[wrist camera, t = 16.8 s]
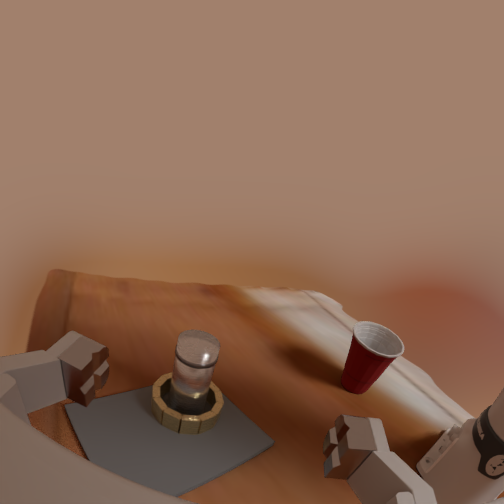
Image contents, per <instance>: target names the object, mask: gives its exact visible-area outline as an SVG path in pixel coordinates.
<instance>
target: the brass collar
mask: <svg viewBox="0 0 504 504" xmlns="http://www.w3.org/2000/svg"><path fill="white" fill-rule="evenodd" d="M172 373H173V372H171V373H168V374H164V375H163V376H161V377H160V378H159V379H158V380H157V381H156V382H155V383H154V384H153V389H152V399H151V411H152V413H153V415H154V416H155V418H156V419H157V420H158V422H159V423H160V424H162V426H164V427H166V428H168V429H170V430H172V431H174V432H176V433H178V432H179V434H190V435H197V433H198V434H201V433H204V432H206V431H208V430H211V429H212V428H214V426H215V424H216V422H217V421H218V419H219V417H220V414H221V411H222V408H223V405H224V401H223V397H222V393H221V391H220V389H219V388H218V387H217V386H216V385H215V384H214V383H213V382H212V381H211V383H210V387H209V391H208V395H207V398H206V401H207V402H208V403H209V404H210V406H211V411H209V412H206V413H204V414H201V415H199V416H197V415H182V414H180V413H178V412H176V411H174V410H172V409H170V408H168V406H167V405H166V404H165V403H164V401H163V400H162V399H161V398H162V396H163V395H164V394H165V393H168V392H170V385H171V379H172Z"/></svg>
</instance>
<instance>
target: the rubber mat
mask: <svg viewBox="0 0 504 504" xmlns="http://www.w3.org/2000/svg"><path fill="white" fill-rule="evenodd" d="M152 389H153V385H152V386H148V387H144V388H140V389H136V390H132V391H128V392H124V393H119V394H115V395H111V396H106V397H101V398H97V399H93V400H92V401H91V402H90V404H89V405H88V406H87V408H86V407H84V406H82V405H80V404H78V403H71V404H66V405H65V410H66V412H67V415H68V417H69V419H70V422H71V424H72V426H73V429H74V431H75V433H76V435H77V438H78V440H79V442H80V444H81V446H82V448H83V450H84V452H85V454H86V456H87V458H88V460H89V461H91V462H93V463H94V464H96V465H98V466H100V467H103V468H105V469H107V470H109V471H111V472H113V473H115V474H117V475H120V476H122V477H124V478H127V479H129V480H131V481H134V482H136V483H139V484H141V485H144V486H146V487H149V488H151V489H154V490H157V491H160V492H163V493H165V494H168V495H171V496H174V497H178V496H180V495H182V494H184V493H187V492H189V491H191V490H193V489H195V488H197V487H199V486H201V485H203V484H206V483H208V482H210V481H211V480H213V479H215V478H217V477H219V476H221V475H223V474H225V473H227V472H229V471H230V470H232V469H234V468H236V467H238V466H239V465H241V464H243V463H245V462H246V461H248V460H250V459H251V458H253V457H255V456H257V455H258V454H260V453H261V452H263V451H265V450H266V449H268V448H269V447H271V446H273V444H274V442H275V441H274V440H273V439H272V438H270V437H269V436H268V435H267V434H266V433H265V432H264V431H262V430H261V429H260V428H259V427H258V426H257V425H256V424H255V423H254V422H252V421H251V420H250V419H249V418H248V417H247V416H246V415H245V414H244V413H243V412H242V411H241V410H239V409H238V408H237V407H236V406H235V405H234V404H233V403H232V402H231V401H230V400H229V399H228V398H227V397H226V396H225V395H224V394H223V393H222V392H221V393H222V397H223V401H224V405H223V408H222V411H221V414H220V417H219V419H218V421H217V422H216V424H215V426H214V428H212V429H211V430H208V431H206V432H204V433H201V434H198V433H197V435H190V434H179V432H178V433H176V432H174V431H172V430H170V429H168V428H166V427H164V426H162V424H160V423H159V422H158V420H157V419H156V418H155V416H154V415H153V413H152V411H151V399H152ZM168 398H169V392H168V393H165V394H164V395H163V396H162V398H161V399H162V400H163V401H164V403H165V404H166V405H168ZM209 411H211V406H210V404H209V403H208V402H207V401H206V402H205V406H204V410H203V414H204V413H206V412H209Z"/></svg>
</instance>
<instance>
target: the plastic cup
mask: <svg viewBox="0 0 504 504" xmlns="http://www.w3.org/2000/svg"><path fill="white" fill-rule="evenodd" d="M403 351H404V346H403V343H402V341H401V340H400V339H399V337H398V336H397V335H396V334H395V333H393V332H392V331H391V330H389V329H388V328H386V327H383V326H382V325H380V324H376V323H373V322H365V321H361V322H358V323H356V324H355V325H354V327H353V337H352V341H351V346H350V350H349V353H348V357H347V360H346V363H345V368H344V371H343V374H342V377H341V378H342V379H341V384H342V385H343V387H344V388H345V389H346V390H348V391H350V392H352V393H355V394H362V393H364V392H366V391H367V390H368V389H369V388H370V386H371V385H372V384H373V383H374V382H375V381H376V380H377V379H378V378H379V376H380V375H381V374H382V373H383V372H384V371H385V369H386V368H387V367H388V366H389V364H390V363H392V362H393V360H394V359H396V358H397V357H398V356H400V355H401V354H402V353H403Z"/></svg>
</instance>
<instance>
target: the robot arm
mask: <svg viewBox="0 0 504 504" xmlns="http://www.w3.org/2000/svg"><path fill="white" fill-rule="evenodd" d="M108 357H109V349H108V348H107V347H106V346H104V345H102V344H100V343H98V342H96V341H94V340H91V339H89V338H87V337H85V336H83V335H81V334H79V333H77V332H75V331H70V332H68V333H67V334H66V335H65V336H63V337H62V338H61V339H60V340H59V341H57V342H56V343H55V344H54V345H53V346H52V347H50V348H49V349H48V350H47V351H44V350H39V351H33V352H27V353H21V354H15V355H10V356H3V357H0V504H198V503H194V502H191V501H187V500H184V499H181V498H178V497H174V496H171V495H168V494H165V493H163V492H160V491H157V490H154V489H151V488H149V487H146V486H144V485H141V484H139V483H136V482H134V481H131V480H129V479H127V478H124V477H122V476H120V475H117V474H115V473H113V472H111V471H109V470H107V469H105V468H103V467H100V466H98V465H96V464H94V463H93V462H91V461H89V460H87V459H85V458H83V457H81V456H79V455H78V454H76V453H74V452H72V451H70V450H69V449H67V448H65V447H64V446H62V445H60V444H59V443H57V442H55V441H54V440H52V439H50V438H49V437H47V436H46V435H44V434H43V433H41V432H40V431H38V430H37V429H35V428H34V427H32V426H31V423H30V421H29V418H28V415H27V414H28V413H31V412H33V411H36V410H39V409H41V408H44V407H47V406H49V405H52V404H55V403H57V402H60V401H62V400H65V399H67V398H69V399H70V400H72V401H74V402H76V403H78V404H80V405H82V406H84V407H86V408H87V406H88V405H89V404H90V402H91V401H92V400H93V399H94V397H95V390H99V389H102V387H103V386H104V385H105V383H106V381H107V378H108V375H109V365H108V363H107V361H106V359H107V358H108ZM66 397H67V398H66ZM323 454H324V455H325V456H326V457H327V460H326V461H325V462H324V475H325V478H333V479H343V480H347V482H348V484H349V485H350V487H351V488H352V490H353V491H354V492H355V494H356V495H357V497H358V498H359V500H360V501H361V503H362V504H504V497H502V498H499V499H497V497H498V496H499V495H500V494H501V493H502V492H503V490H504V388H503V390H502V391H501V393H500V394H499V396H498V397H497V399H496V400H495V402H494V403H493V405H491V406H489V407H488V408H487V409H486V410H484V411H483V412H482V413H481V414H480V416H479V417H478V418H477V419H476V418H473V419H468V420H467V421H466V422H465V423H464V424H463V425H462V427H461V428H460V427H458V426H457V425H455V424H454V426H453V427H452V428H448V429H447V430H446V431H445V432H444V433H443V434H442V436H441V437H440V438H439V439H438V441H437V442H436V443H435V444H434V445H433V446H432V448H431V449H430V450H429V451H428V452H427V453H426V454H425V455H424V457H423V458H422V459H421V460H420V461H419V462H418V463H417V465H416V466H417V469H418V471H419V473H420V474H421V476H422V477H423V479H422V478H421V477H420V476H419V475H417V474H416V473H415V472H414V471H413V470H412V469H411V468H410V467H409V466H408V465H407V464H406V463H405V462H404V461H403V460H402V459H400V458H399V457H398V456H397V455H396V454H395V453H394V452H390V450H389V446H388V442H387V439H386V435H385V432H384V428H383V425H382V421H381V420H380V419H377V418H365V417H356V416H348V415H340V416H338V417H337V419H336V420H335V427H334V428H332V429H330V430H329V431H328V433H327V435H326V437H325V440H324V444H323Z"/></svg>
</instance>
